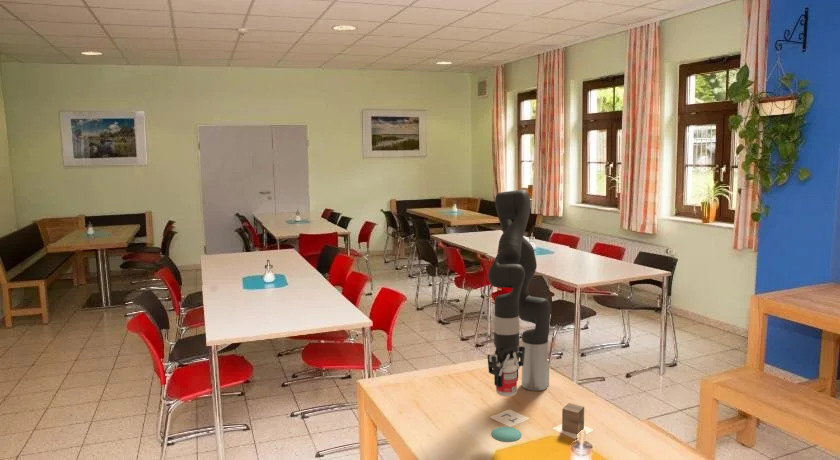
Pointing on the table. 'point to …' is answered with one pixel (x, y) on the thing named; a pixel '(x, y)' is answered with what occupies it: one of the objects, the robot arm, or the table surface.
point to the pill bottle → (508, 379)
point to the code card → (509, 418)
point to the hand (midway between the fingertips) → (506, 383)
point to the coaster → (506, 434)
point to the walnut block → (573, 418)
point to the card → (559, 429)
